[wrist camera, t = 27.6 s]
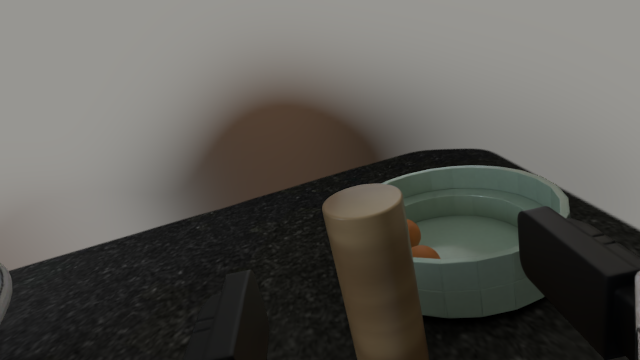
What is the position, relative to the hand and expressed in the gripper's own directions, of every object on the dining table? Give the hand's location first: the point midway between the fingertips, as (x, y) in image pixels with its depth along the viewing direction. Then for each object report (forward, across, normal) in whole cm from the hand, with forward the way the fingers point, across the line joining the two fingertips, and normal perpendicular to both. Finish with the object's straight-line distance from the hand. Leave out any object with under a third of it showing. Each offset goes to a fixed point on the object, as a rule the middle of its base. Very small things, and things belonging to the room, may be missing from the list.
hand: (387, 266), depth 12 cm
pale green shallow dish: (+20, -8, +14) cm, 26 cm away
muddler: (+4, 0, +14) cm, 14 cm away
